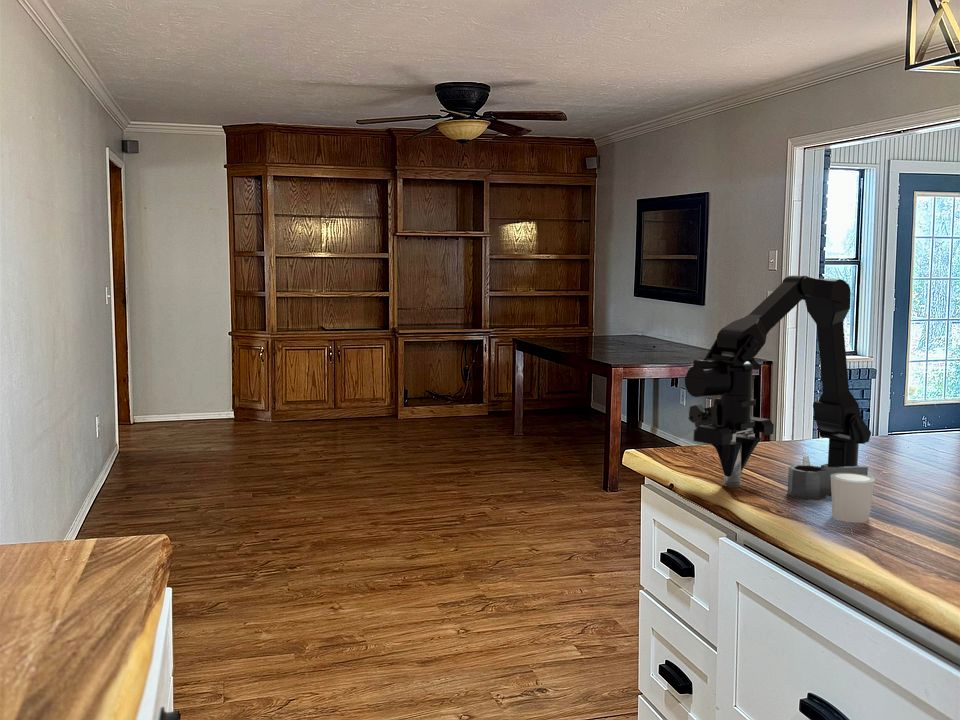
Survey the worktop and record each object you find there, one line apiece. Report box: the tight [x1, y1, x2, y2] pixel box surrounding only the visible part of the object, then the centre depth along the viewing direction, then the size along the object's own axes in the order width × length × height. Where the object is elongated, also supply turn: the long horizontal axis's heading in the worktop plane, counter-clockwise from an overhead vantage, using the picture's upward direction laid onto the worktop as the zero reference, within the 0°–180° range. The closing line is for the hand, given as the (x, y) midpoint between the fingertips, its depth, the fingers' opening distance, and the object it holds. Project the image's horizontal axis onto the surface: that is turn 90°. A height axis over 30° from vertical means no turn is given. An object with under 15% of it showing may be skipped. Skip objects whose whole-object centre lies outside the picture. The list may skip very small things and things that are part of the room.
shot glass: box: [830, 473, 876, 524], centre depth 146 cm, size 7×7×7 cm
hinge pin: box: [723, 444, 742, 488], centre depth 167 cm, size 3×3×8 cm
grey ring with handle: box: [787, 455, 869, 501], centre depth 163 cm, size 14×13×5 cm
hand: (732, 474), depth 167 cm, fingers closed on hinge pin, 3 cm apart
